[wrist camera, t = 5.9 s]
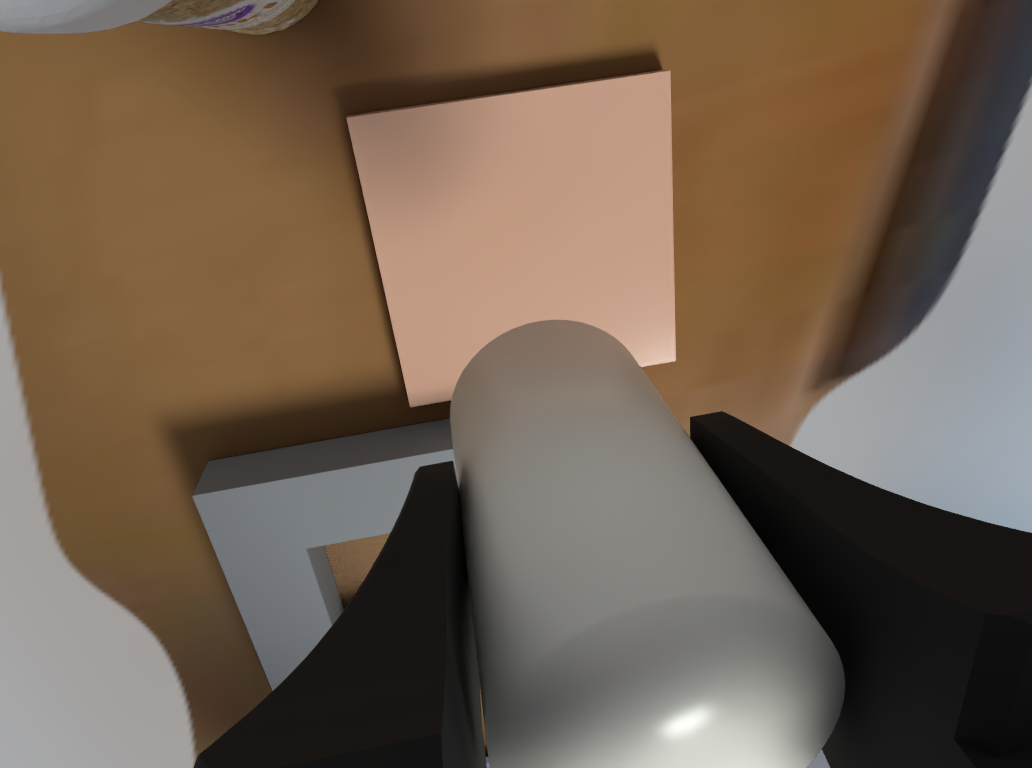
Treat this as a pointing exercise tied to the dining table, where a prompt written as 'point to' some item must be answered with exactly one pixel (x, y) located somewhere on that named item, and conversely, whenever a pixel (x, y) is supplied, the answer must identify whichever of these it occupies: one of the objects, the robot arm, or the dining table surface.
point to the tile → (522, 219)
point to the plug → (621, 575)
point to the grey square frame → (306, 526)
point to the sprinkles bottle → (150, 14)
